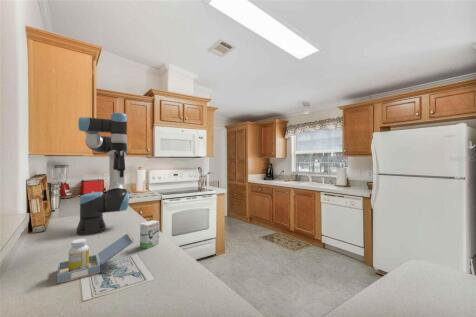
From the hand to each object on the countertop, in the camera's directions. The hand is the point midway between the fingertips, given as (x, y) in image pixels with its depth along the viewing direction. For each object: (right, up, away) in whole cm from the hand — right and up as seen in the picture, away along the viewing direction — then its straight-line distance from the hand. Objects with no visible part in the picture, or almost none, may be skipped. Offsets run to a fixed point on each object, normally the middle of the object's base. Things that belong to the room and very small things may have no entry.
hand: (118, 182), depth 119 cm
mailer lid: (+11, -24, -23) cm, 35 cm away
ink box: (+18, -32, -4) cm, 37 cm away
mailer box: (+1, -32, -31) cm, 44 cm away
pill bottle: (+1, -31, -31) cm, 44 cm away
